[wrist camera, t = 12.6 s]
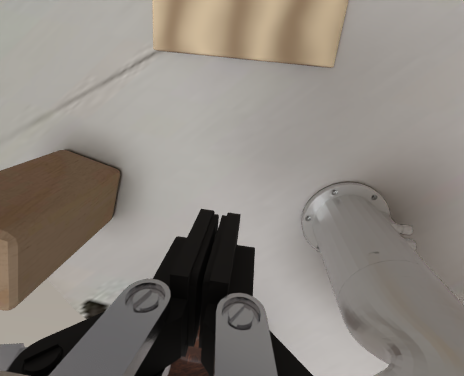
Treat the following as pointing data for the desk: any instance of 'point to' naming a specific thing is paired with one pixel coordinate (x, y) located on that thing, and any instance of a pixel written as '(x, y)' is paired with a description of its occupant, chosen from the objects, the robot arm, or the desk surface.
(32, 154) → the desk surface
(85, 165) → the wooden block
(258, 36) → the board
